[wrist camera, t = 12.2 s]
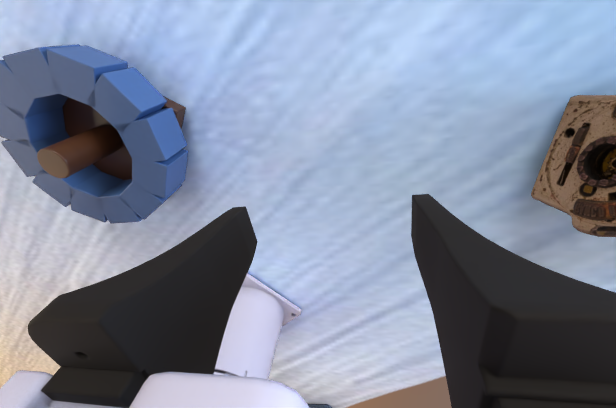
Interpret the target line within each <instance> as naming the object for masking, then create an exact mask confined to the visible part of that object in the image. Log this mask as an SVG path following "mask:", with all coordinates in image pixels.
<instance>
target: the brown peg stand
mask: <svg viewBox="0 0 616 408" xmlns="http://www.w3.org/2000/svg"><path fill="white" fill-rule="evenodd" d="M50 47H53V46H50ZM163 97H164V96H163ZM164 98H165V99H166V100H167V102H166V104H165V105H164V106H163V107H162V108H161V109H166V108H172V109H173V111H174V113H175V116H176V118H177V121H178V123H179V126H180V128H181V129H182V124H183V119H184V114H185V109H186V107H184V106H182V105H180V104H178V103H176V102H174V101H172V100H170V99H168V98H166V97H164ZM62 108H63V115H64V122H65V129H66V132H67V133H68V135H69V136H70V138H68V139H65V140H63V141H60V142H57V143H55V144H52V145H50V146H47V147H45V148H42V149H40V150H39V151H38V153H37V159H38V162H39V164H40V165H41V167H42V168H43V169H44V170H45V171H46V172H47V173H49V174H50V175H52V176H54V177H56V178H67V177H69V176H71V175H73V174H74V173H76V172H78V171H80V170H82V169H84V168H86V167H88V166H90V165H91V164H93V165H94V166H96V167H97V168H98V169H99V170H100V171H102V172H104V173H106V174H109V175H112V176H114V177H117V178H120V179H122V180H128V179H132V157H131V155H130V154H129V152H128V150H127V148H126V146H125V144H124V142H123V140H122V138H121V136H120V135H119V133H118V131H117V129H116V128H114V127H113V126H112V125H111V124H110V123H109V122H108V121H107V120H106V119H105V118H103V117H102V116H101V115H100V114H99V113H98V112H97V111H96V110H95V109H94V108H92V107H91V106H89V105H87V104H84V103H82V102H79V101H77V100H74V99H72V98H69V97H68V99H67V100H66V102H65V104H64V105H63V107H62ZM164 202H165V201H164Z"/></svg>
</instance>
